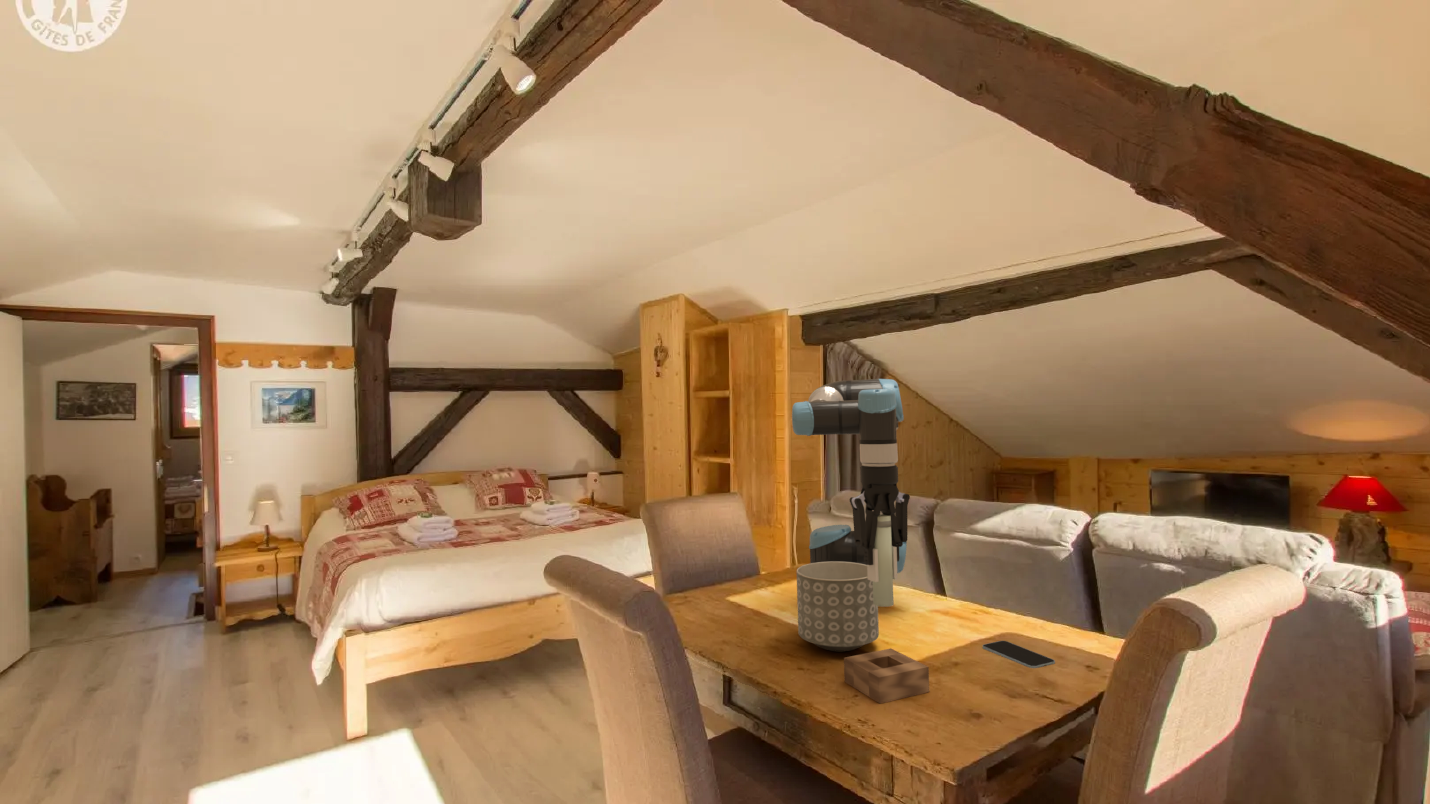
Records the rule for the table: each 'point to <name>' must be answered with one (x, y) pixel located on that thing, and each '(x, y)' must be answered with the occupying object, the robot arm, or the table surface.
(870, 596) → the planter
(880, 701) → the square wooden socket block
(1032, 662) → the smartphone
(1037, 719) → the table surface
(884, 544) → the banded green cylinder
